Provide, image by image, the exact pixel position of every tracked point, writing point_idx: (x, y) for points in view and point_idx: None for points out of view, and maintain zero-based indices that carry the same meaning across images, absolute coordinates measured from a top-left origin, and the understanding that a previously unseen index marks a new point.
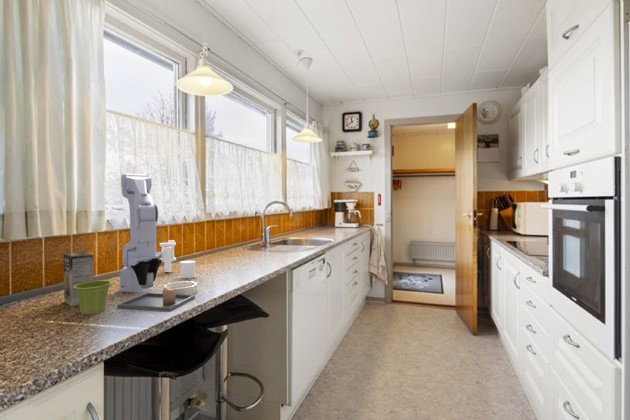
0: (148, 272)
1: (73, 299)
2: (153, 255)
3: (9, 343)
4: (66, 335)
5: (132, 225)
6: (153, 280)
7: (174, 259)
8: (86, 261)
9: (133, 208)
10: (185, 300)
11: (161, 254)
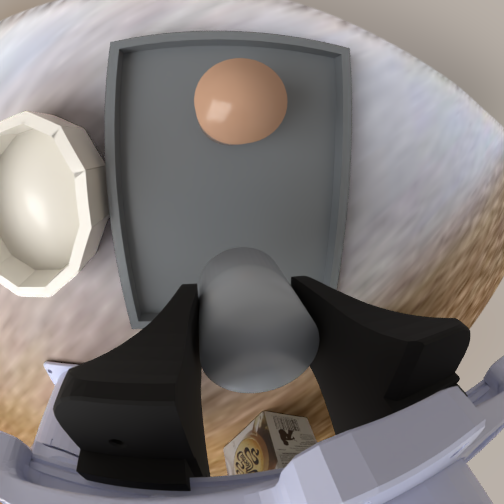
0: (225, 364)
1: (310, 432)
2: (419, 493)
3: (480, 310)
4: (478, 253)
5: None
6: (196, 288)
7: None
8: None
9: None
10: (212, 32)
11: (3, 475)
